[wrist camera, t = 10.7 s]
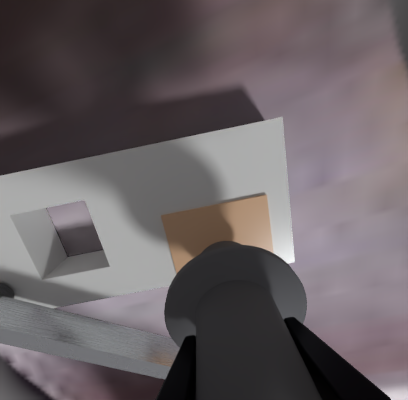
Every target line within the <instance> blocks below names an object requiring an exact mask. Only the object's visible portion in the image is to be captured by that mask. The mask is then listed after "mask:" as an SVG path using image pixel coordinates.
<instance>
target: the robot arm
mask: <svg viewBox="0 0 408 400" xmlns="http://www.w3.org/2000/svg"><path fill="white" fill-rule="evenodd" d="M284 322H285V324H286V326H287V328H288V330H289V332H290V334H291V336H292V338H293V340H294V342H295V344H296V346H297V349H298V351H299V353H300V355H301V357H302V359H303V361H304V363H305V365H306V367H307V369H308V371H309V373H310V375H311V377H312V379H313V381H314V384H315V386H316V388H317V390H318V392H319V394H320V396H321V398H322V400H391V399H390V397H388V396H387V395H386V394H385V393H384V392H382V391H381V390H380V389H379V388H378V387H377V386H375V385H374V384H373V383H372V382H371V381H369V380H368V379H367V378H366V377H365V376H364V375H362V374H361V373H360V372H359V371H358V370H356V369H355V368H354V367H353V366H352V365H351V364H349V363H348V362H347V361H346V360H345V359H343V358H342V357H341V356H340V355H339V354H338V353H336V352H335V351H334V350H333V349H332V348H330V347H329V346H328V345H327V344H326V343H325V342H323V341H322V340H321V339H320V338H319V337H317V336H316V335H315V334H314V333H313V332H312V331H310V330H309V329H308V328H307V327H306V326H304V325H303V324H302V323H301V322H300V321H299V320H297V319H296V318H295V317H287V318H284ZM156 400H196V336H195V335H190V336H186V337H185V338H184V340H183V342H182V345H181V347H180V349H179V351H178V353H177V355H176V357H175V360H174V362H173V364H172V366H171V368H170V370H169V372H168V374H167V377H166V379H165V381H164V383H163V385H162V387H161V389H160V392H159V394H158V396H157V398H156Z"/></svg>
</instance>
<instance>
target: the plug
mask: <svg viewBox="0 0 408 400" xmlns="http://www.w3.org/2000/svg"><path fill="white" fill-rule="evenodd" d="M306 310H307V300H306V293H305V290H304V287H303V285H302V283H301V281H300V279H299V278H298V277H297V275H296V274H295V272H294V271H293V270H292V268H291V267H290V266H289V265H288V264H287V263H286V262H285V261H284V260H283V259H282V258H280V257H279V256H277V255H276V254H274V253H272V252H270V251H268V250H265V249H262V248H259V247H255V246H250V245H242V244H240V243H237V242H234V241H220V242H216V243H214V244H212V245H210V246H208V247H207V248H206V249H204V250H203V252H202V253H201V254H200V255H198V256H196V257H194V258H193V259H192V260H190V261H189V262H188V263H187V264H185V265H184V266H183V267H182V268H181V269H180V271H179V272H178V273H177V274H176V276H175V277H174V279H173V281H172V282H171V285H170V287H169V290H168V294H167V298H166V303H165V311H164V314H165V323H166V327H167V330H168V332H169V334H170V336H171V338H172V339H173V341H174V342H175V343H176V345H177V346H178V347H179V348H180V347H181V345H182V342H183V340H184V338H185V337H186V336H190V335H195V336H196V400H322V398H321V396H320V394H319V392H318V390H317V388H316V386H315V384H314V381H313V379H312V377H311V375H310V373H309V371H308V369H307V367H306V365H305V363H304V361H303V359H302V357H301V355H300V353H299V351H298V349H297V346H296V344H295V342H294V340H293V338H292V336H291V334H290V332H289V330H288V328H287V326H286V324H285V322H284V318H287V317H295V318H296V319H297V320H299V321H300V322H301V323H302V324H303V322H304V319H305V316H306Z"/></svg>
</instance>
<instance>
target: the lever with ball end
mask: <svg viewBox="0 0 408 400" xmlns="http://www.w3.org/2000/svg"><path fill="white" fill-rule="evenodd" d="M0 343H2V344H6V345H11V346H16V347H20V348H25V349H29V350H34V351H38V352H43V353H47V354H52V355H56V356H61V357H65V358H70V359H74V360H79V361H83V362H88V363H93V364H97V365H102V366H106V367H111V368H115V369H120V370H124V371H129V372H133V373H138V374H142V375H147V376H151V377H156V378H160V379H166V377H167V374H168V372H169V370H170V368H171V366H172V364H173V362H174V360H175V357H176V355H177V353H178V351H179V349H180V348H179V347H178V346H177V345H176V343H175V342H174V341H173V339H172V338H170V337H166V336H162V335H158V334H154V333H150V332H146V331H142V330H138V329H134V328H130V327H125V326H121V325H117V324H113V323H109V322H105V321H101V320H97V319H93V318H89V317H85V316H81V315H77V314H73V313H69V312H65V311H61V310H57V309H53V308H49V307H45V306H41V305H37V304H33V303H29V302H25V301H21V300H17V299H14V291H13V290H12V288H11V287H9V286H8V285H6V284H4V283H0Z"/></svg>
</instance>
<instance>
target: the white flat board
mask: <svg viewBox="0 0 408 400" xmlns="http://www.w3.org/2000/svg"><path fill="white" fill-rule="evenodd" d="M83 200H85V202H86V205H87V208H88V210H89V213H90V215H91V218H92V221H93V223H94V226H95V229H96V231H97V234H98V236H99V239H100V242H101V244H102V247H103V250H100V251H95V252H90V253H85V254H80V255H75V256H70V257H67V254H66V252H65V250H64V248H63V245H62V243H61V241H60V239H59V236H58V234H57V232H56V229H55V227H54V225H53V223H52V220H51V218H50V216H49V214H48V211H47V209H46V208H48V207H53V206H58V205H63V204H68V203H73V202H78V201H83ZM220 241H234V242H237V243H240V244H242V245H250V246H255V247H259V248H262V249H265V250H268V251H270V252H272V253H274V254H276V255H277V256H279V257H280V258H282V259H283V260H284V261H285V262H286V263H287V264H288V263H293V262H295V259H294V247H293V235H292V223H291V211H290V199H289V187H288V176H287V164H286V152H285V140H284V128H283V117H280V118H275V119H270V120H265V121H260V122H256V123H251V124H246V125H241V126H236V127H232V128H227V129H222V130H217V131H212V132H208V133H203V134H198V135H193V136H188V137H184V138H179V139H174V140H169V141H164V142H160V143H155V144H150V145H145V146H140V147H136V148H131V149H126V150H121V151H116V152H112V153H107V154H102V155H97V156H92V157H88V158H83V159H78V160H73V161H68V162H64V163H59V164H54V165H49V166H44V167H40V168H35V169H30V170H25V171H20V172H16V173H11V174H6V175H1V176H0V283H4V284H6V285H8V286H9V287H11V288H12V290H13V291H14V299H17V300H21V301H25V302H29V303H33V304H37V305H41V306H45V307H49V308H57V307H62V306H68V305H73V304H78V303H83V302H89V301H94V300H99V299H104V298H110V297H115V296H120V295H125V294H130V293H136V292H141V291H146V290H151V289H157V288H162V287H167V286H170V285H171V282H172V281H173V279H174V277H175V276H176V274H177V273H178V272H179V271H180V269H181V268H182V267H183V266H184V265H185V264H187V263H188V262H189V261H190V260H192V259H193V258H194V257H196V256H198V255H200V254H201V253H202V252H203V250H204V249H206V248H207V247H208V246H210V245H212V244H214V243H216V242H220Z"/></svg>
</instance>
